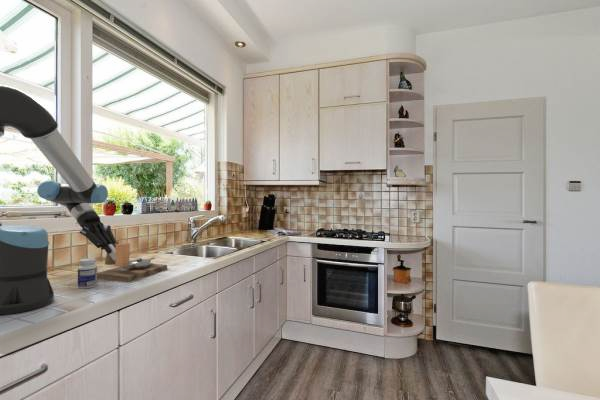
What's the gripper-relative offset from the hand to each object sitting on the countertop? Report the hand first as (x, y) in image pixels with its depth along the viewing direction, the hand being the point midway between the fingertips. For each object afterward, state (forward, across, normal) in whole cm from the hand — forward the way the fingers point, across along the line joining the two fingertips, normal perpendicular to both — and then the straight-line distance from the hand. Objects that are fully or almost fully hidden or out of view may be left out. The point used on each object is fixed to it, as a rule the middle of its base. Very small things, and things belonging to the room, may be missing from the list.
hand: (117, 258), depth 119 cm
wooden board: (+7, -6, -3) cm, 10 cm away
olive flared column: (-9, -18, -20) cm, 29 cm away
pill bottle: (+7, +14, -4) cm, 16 cm away
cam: (+6, -8, -2) cm, 10 cm away
